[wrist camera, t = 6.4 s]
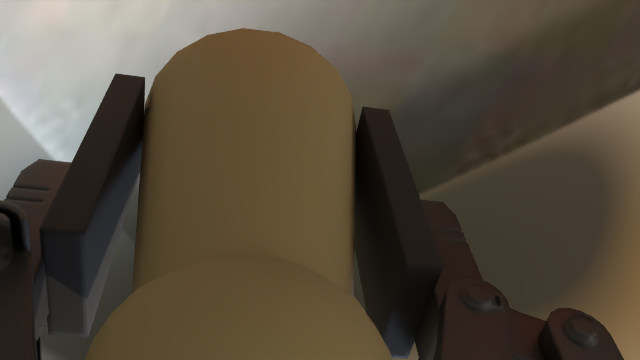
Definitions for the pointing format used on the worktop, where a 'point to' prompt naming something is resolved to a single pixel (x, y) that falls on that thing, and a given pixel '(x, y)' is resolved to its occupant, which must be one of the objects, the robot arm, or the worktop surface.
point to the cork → (245, 211)
